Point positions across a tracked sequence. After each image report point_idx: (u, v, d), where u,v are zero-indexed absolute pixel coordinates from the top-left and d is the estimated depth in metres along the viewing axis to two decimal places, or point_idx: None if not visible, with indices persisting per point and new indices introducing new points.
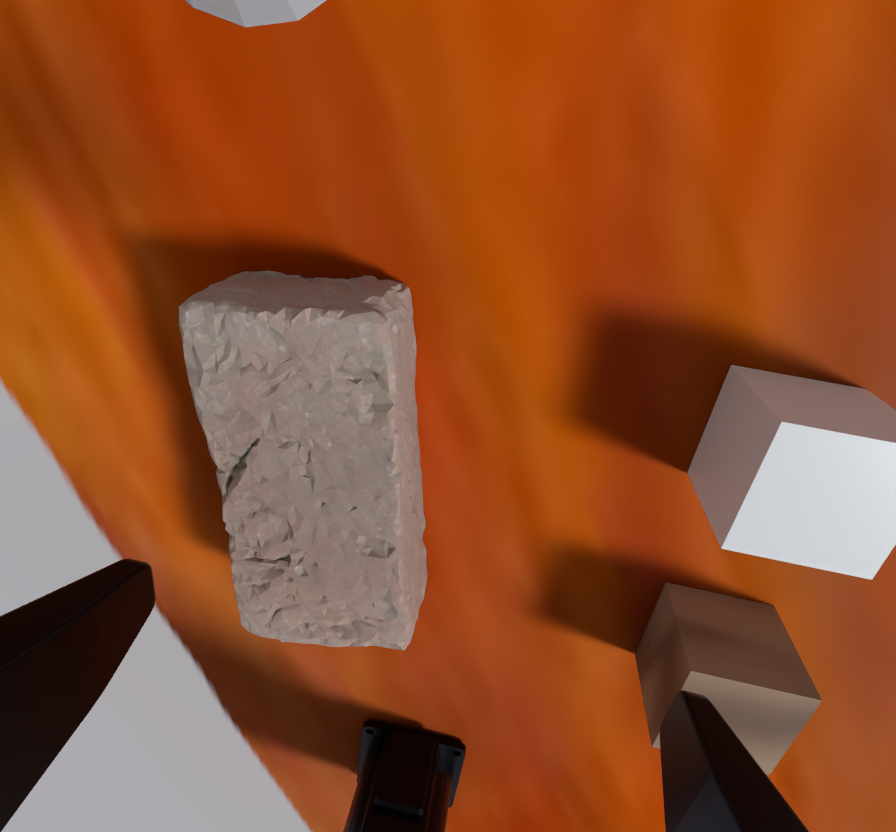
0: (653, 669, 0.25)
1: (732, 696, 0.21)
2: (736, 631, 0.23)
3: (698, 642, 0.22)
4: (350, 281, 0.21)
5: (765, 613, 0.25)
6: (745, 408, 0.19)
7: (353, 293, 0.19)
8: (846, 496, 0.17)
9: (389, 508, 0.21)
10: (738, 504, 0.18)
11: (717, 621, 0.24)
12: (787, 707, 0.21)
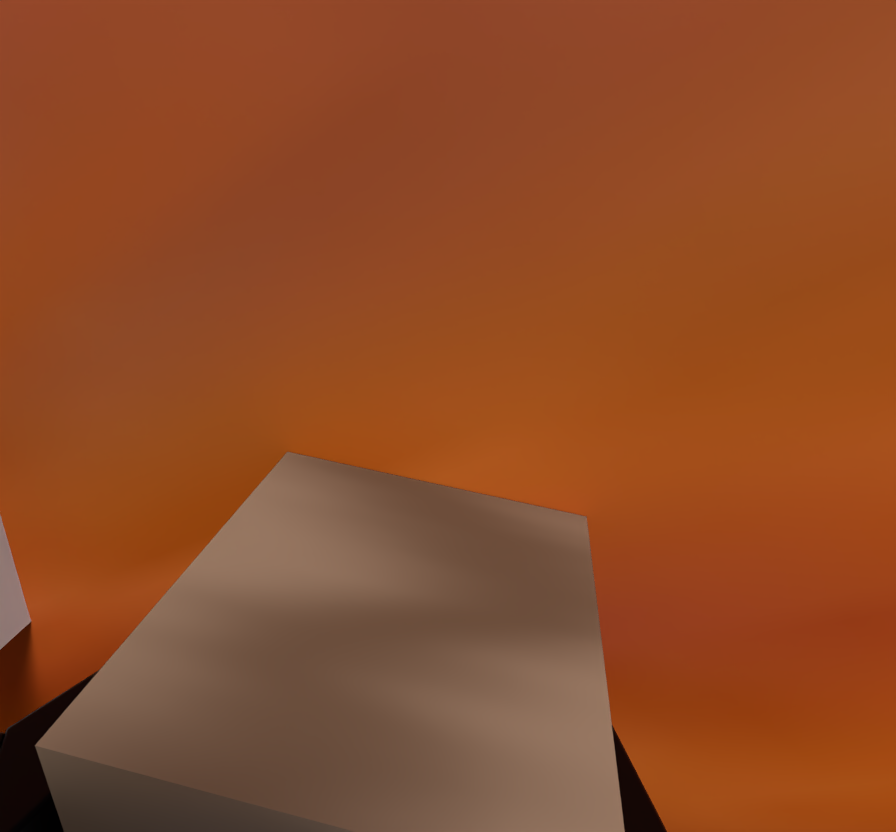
0: None
1: None
2: None
3: None
4: None
5: None
6: None
7: None
8: None
9: None
10: None
11: None
12: (137, 830, 0.05)
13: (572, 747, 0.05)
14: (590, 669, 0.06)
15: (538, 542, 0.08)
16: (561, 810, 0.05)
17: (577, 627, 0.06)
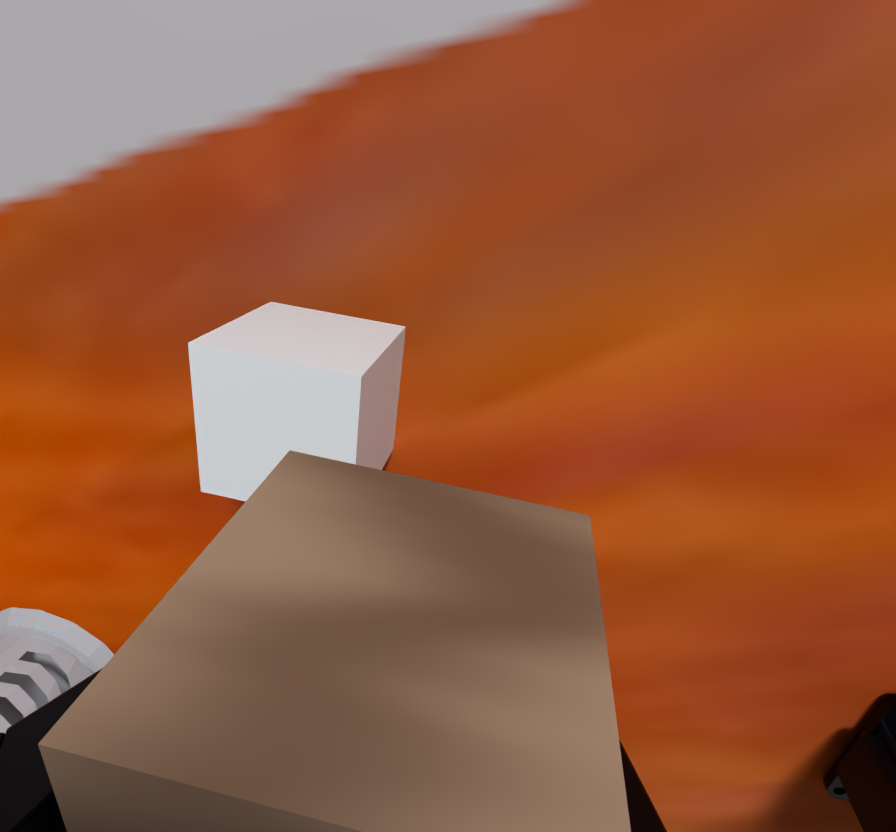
0: None
1: None
2: None
3: None
4: None
5: None
6: None
7: None
8: (260, 425, 0.16)
9: None
10: None
11: None
12: (140, 831, 0.05)
13: (577, 746, 0.05)
14: (595, 668, 0.06)
15: (541, 541, 0.08)
16: (567, 809, 0.05)
17: (581, 626, 0.06)
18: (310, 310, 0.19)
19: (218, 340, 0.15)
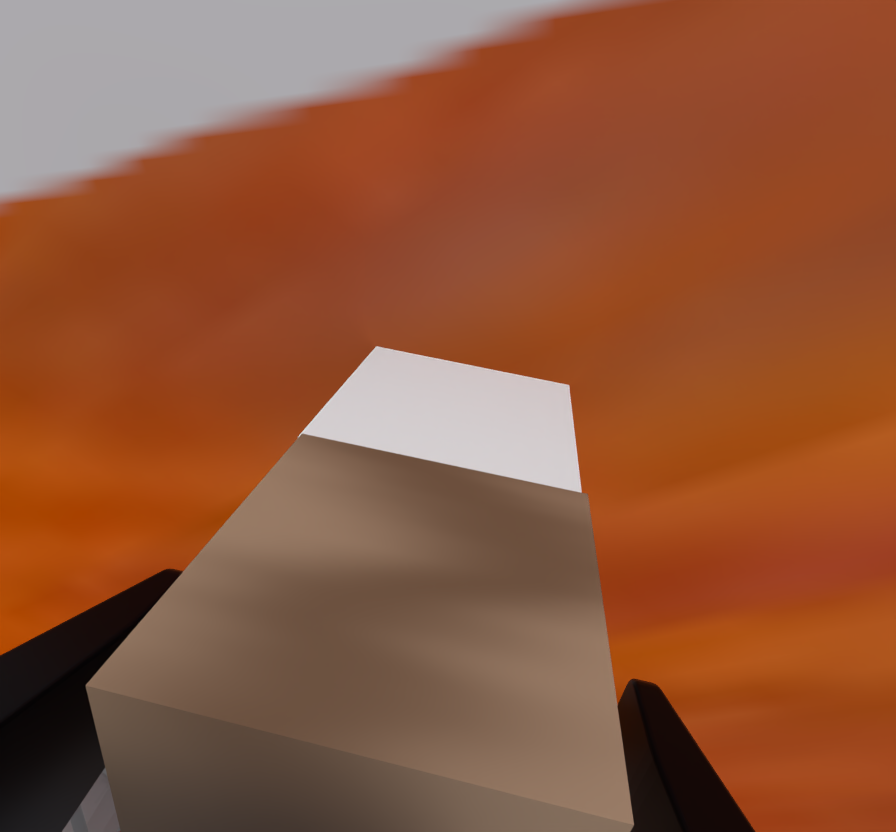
0: None
1: None
2: None
3: None
4: None
5: None
6: None
7: None
8: None
9: None
10: None
11: None
12: (176, 768, 0.05)
13: (577, 693, 0.06)
14: (592, 627, 0.06)
15: (542, 516, 0.08)
16: (567, 745, 0.05)
17: (580, 591, 0.07)
18: (433, 361, 0.14)
19: (339, 428, 0.10)
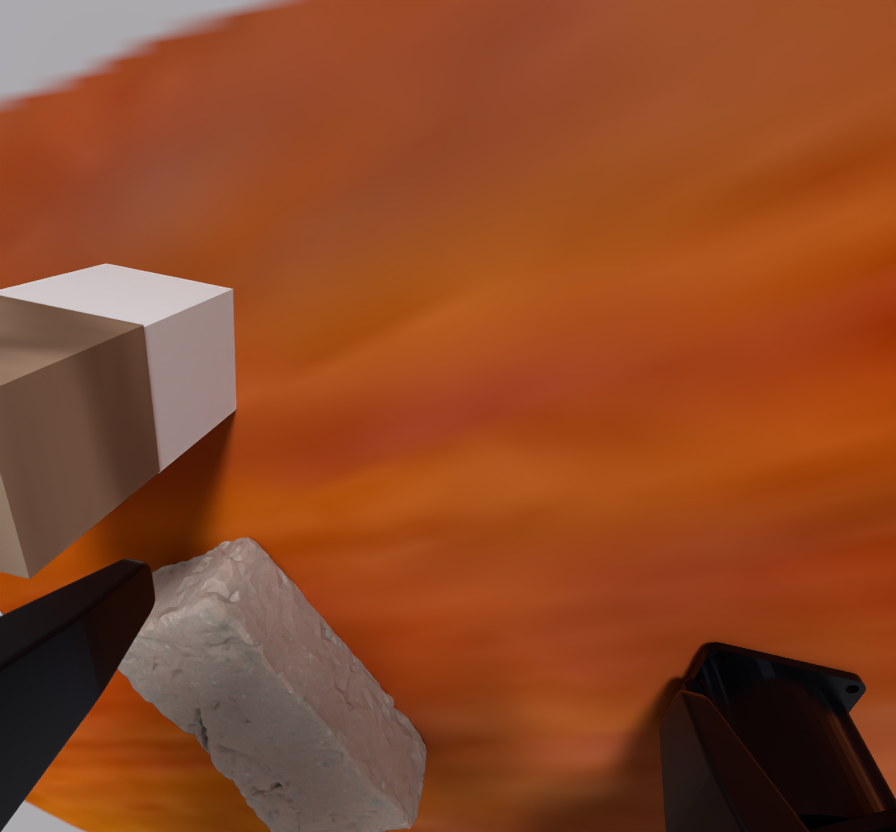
0: None
1: None
2: None
3: None
4: (207, 558, 0.25)
5: None
6: None
7: (199, 579, 0.23)
8: None
9: (316, 725, 0.24)
10: None
11: None
12: None
13: (9, 370, 0.12)
14: (55, 358, 0.13)
15: (94, 328, 0.14)
16: None
17: (69, 349, 0.13)
18: (141, 272, 0.20)
19: (17, 293, 0.16)
